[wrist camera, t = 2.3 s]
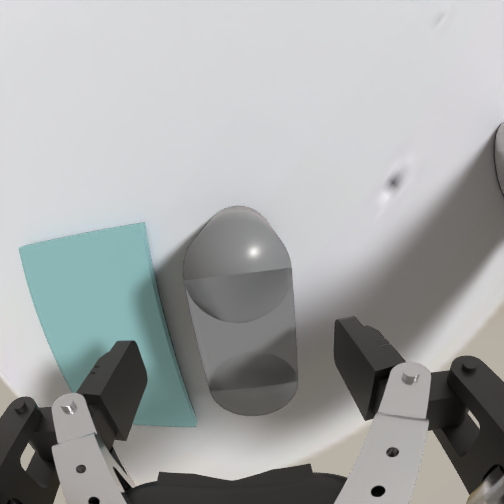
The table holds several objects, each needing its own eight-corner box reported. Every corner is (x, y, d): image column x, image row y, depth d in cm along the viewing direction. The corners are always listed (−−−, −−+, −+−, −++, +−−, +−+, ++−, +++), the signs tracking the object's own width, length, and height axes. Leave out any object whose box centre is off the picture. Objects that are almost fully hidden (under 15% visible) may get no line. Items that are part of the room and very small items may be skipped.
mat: (144, 222, 17) (140, 223, 17) (197, 420, 22) (196, 426, 21) (24, 245, 17) (18, 247, 16) (89, 413, 22) (87, 418, 21)
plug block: (268, 201, 17) (286, 213, 11) (283, 362, 20) (299, 428, 14) (199, 210, 17) (174, 227, 11) (226, 368, 20) (223, 436, 14)
